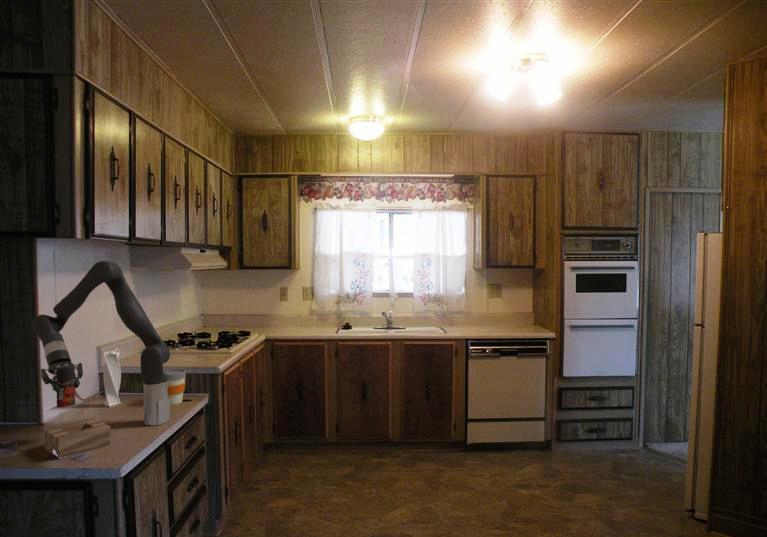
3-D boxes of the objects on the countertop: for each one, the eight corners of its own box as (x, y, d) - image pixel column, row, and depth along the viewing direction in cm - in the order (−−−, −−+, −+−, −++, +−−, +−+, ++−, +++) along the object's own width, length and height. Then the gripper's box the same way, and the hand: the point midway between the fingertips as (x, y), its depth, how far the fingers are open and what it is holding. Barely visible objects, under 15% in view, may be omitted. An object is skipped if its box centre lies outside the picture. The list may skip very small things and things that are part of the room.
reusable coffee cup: (167, 407, 210) (167, 376, 211) (153, 403, 217) (152, 373, 217) (191, 400, 221) (191, 371, 221) (176, 397, 228) (176, 368, 228)
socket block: (110, 444, 165) (109, 426, 165) (59, 459, 152) (58, 439, 152) (93, 435, 175) (93, 417, 175) (44, 448, 162) (44, 429, 162)
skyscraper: (125, 404, 217) (124, 347, 217) (109, 408, 210) (108, 350, 210) (116, 402, 221) (115, 346, 221) (100, 406, 214) (99, 348, 214)
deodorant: (54, 408, 168) (54, 369, 168) (59, 404, 173) (58, 366, 173) (73, 406, 170) (72, 367, 170) (77, 402, 176) (76, 364, 176)
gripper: (36, 351, 171) (46, 386, 163) (79, 346, 182) (91, 378, 175) (33, 363, 174) (42, 398, 167) (75, 357, 185) (86, 390, 178)
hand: (67, 388), depth 171 cm, fingers closed on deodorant, 6 cm apart
